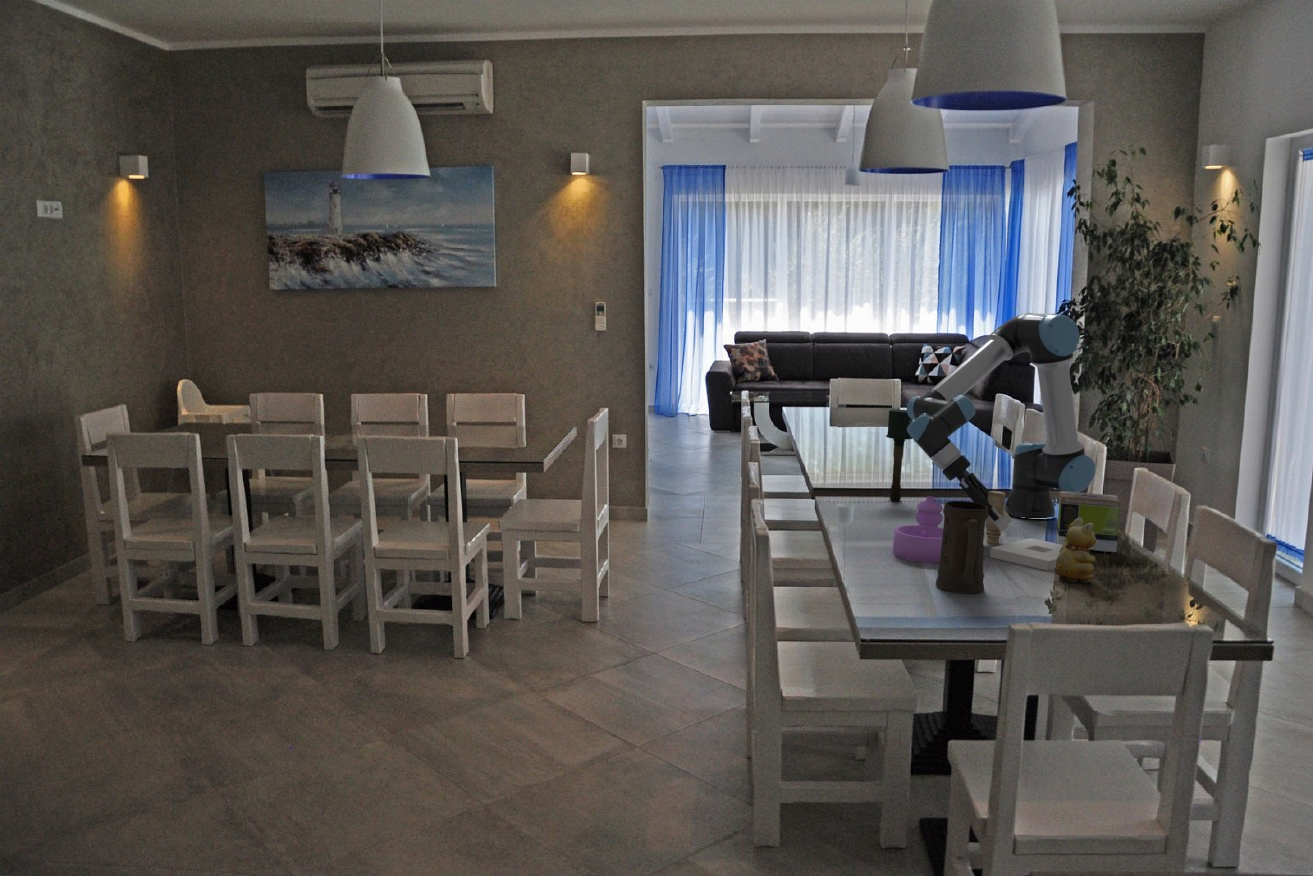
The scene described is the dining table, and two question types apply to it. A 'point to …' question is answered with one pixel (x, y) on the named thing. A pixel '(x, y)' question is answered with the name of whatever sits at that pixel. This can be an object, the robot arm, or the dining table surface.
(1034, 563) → the hole board
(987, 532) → the oak peg
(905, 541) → the container set
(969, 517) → the beer stein
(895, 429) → the stick grenade
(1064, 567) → the decorative figurine
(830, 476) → the dining table surface
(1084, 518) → the tea box
